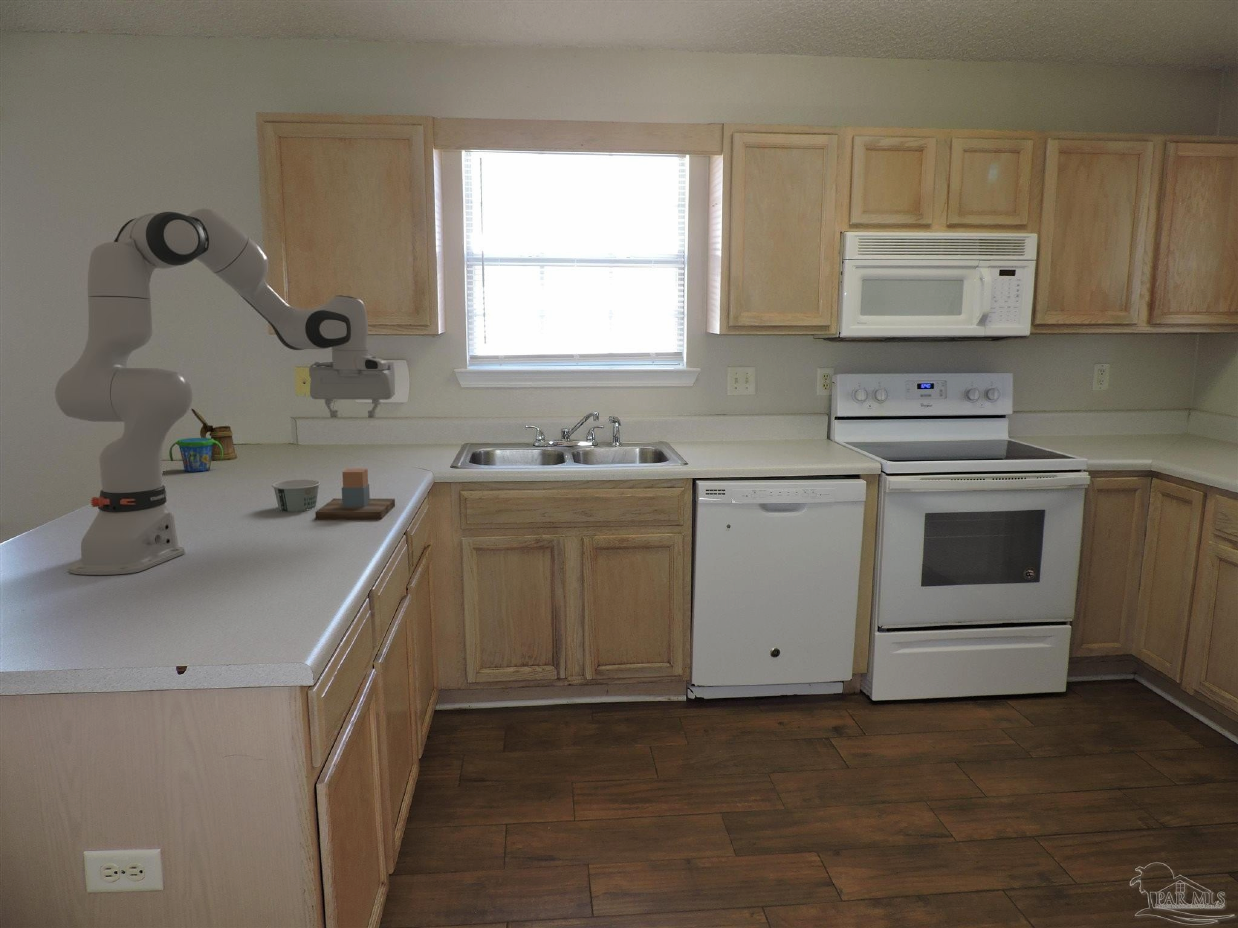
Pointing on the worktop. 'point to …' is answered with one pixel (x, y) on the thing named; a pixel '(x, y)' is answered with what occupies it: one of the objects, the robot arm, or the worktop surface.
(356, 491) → the slate block
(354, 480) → the terracotta block
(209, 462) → the snack cup
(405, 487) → the worktop surface
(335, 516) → the walnut board
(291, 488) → the food container
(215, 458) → the wooden mug
